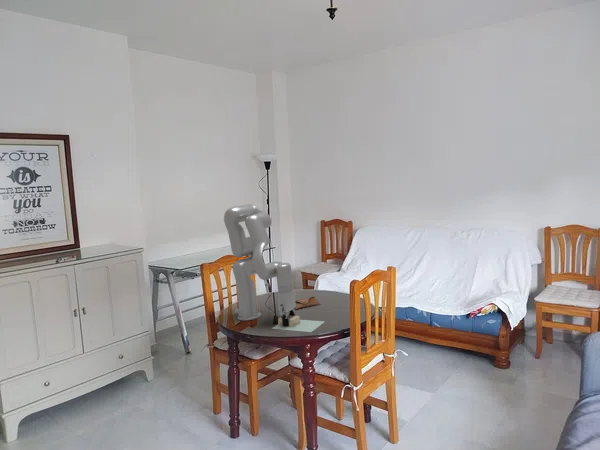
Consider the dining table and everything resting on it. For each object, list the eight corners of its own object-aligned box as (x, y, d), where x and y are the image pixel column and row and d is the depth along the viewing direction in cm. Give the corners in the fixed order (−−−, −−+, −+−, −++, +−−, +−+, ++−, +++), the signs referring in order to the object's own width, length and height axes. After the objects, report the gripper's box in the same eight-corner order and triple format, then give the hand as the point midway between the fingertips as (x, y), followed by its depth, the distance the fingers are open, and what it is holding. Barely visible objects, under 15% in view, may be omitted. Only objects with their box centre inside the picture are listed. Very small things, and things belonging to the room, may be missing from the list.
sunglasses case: (292, 311, 250) (289, 299, 252) (288, 315, 256) (285, 303, 258) (322, 304, 257) (318, 293, 260) (317, 308, 263) (314, 297, 265)
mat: (271, 329, 224) (271, 328, 224) (286, 319, 237) (286, 318, 237) (311, 332, 213) (311, 332, 213) (325, 322, 226) (325, 321, 226)
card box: (278, 325, 227) (277, 318, 227) (284, 321, 232) (283, 315, 232) (294, 327, 223) (293, 320, 222) (300, 322, 228) (299, 316, 228)
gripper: (287, 283, 235) (291, 317, 237) (269, 292, 220) (273, 329, 222) (300, 284, 231) (304, 318, 233) (283, 293, 216) (287, 330, 218)
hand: (289, 323), depth 228 cm, fingers closed on card box, 6 cm apart
